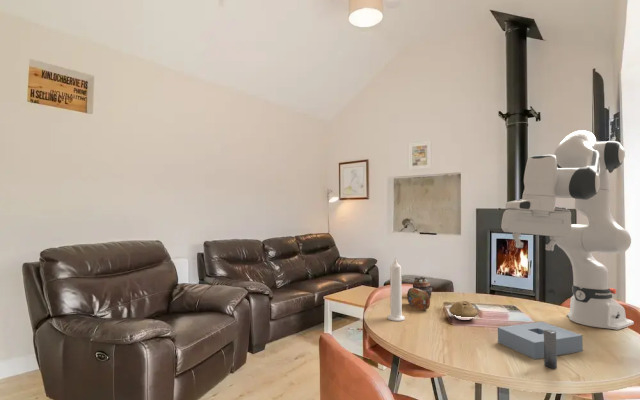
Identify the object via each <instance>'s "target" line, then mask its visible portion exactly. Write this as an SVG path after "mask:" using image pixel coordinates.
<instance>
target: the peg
mask: <svg viewBox="0 0 640 400" xmlns="http://www.w3.org/2000/svg"><path fill="white" fill-rule="evenodd" d="M557 359H558V355H557V348H556V332H555V331H552V330H544V358H543V361H544V362H543V364H544V365H543V366H544V367H545V368H547V369H550V370H556V369H557V370H558V360H557Z"/></svg>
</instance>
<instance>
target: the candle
mask: <svg viewBox="0 0 640 400" xmlns="http://www.w3.org/2000/svg"><path fill="white" fill-rule="evenodd" d="M389 269H390V272H389V274H390V277H389V278H390V280H389V281H390V282H389V283H390V289H389V290H390V293H389V294H390V296H389V297H390V314H388V315H387V320H390V321H392V322H403V321H405V319H406V318H405V317H406V316H405V315H403V313H402V310H403V309H402V308H403V306H402V303H403V300H402V294H403V293H402V266H401V265H400V264H399V263H398V259H397V258H396V257H395V258H394V261H393V263H392V264H391V265H390V267H389Z"/></svg>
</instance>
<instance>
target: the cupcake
mask: <svg viewBox="0 0 640 400" xmlns="http://www.w3.org/2000/svg"><path fill="white" fill-rule="evenodd" d="M412 288H417V289H419V290H422V291H425V292H427V293H428V295H429V297H430V299H431V298H432V290H433V287H431V283H430V282H429V281H428V280H427V279H426V278H425V277H420V278H419V277H415V278H414V280H413V282H412Z"/></svg>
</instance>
